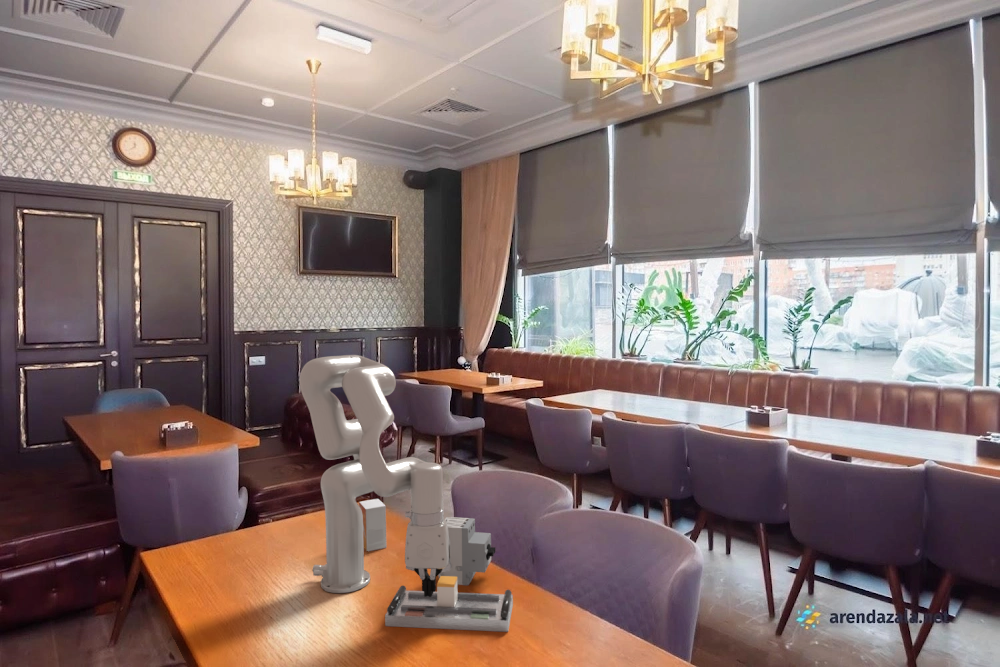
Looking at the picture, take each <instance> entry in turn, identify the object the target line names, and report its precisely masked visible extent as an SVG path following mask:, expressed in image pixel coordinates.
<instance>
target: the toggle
mask: <svg viewBox="0 0 1000 667" xmlns="http://www.w3.org/2000/svg"><path fill="white" fill-rule="evenodd" d="M436 592H437V606H441V607H455V605H456V603H457V600H458V593H459V592H458V585H457V577H455V576H440V579H439V578H438V581H437V582H436Z"/></svg>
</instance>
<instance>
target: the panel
mask: <svg viewBox="0 0 1000 667" xmlns="http://www.w3.org/2000/svg"><path fill="white" fill-rule="evenodd" d="M513 598H514V594H512V591H511V589H506V590H505V591H504V594H503V593H476V592H458V600H457V603H456V605H455V607H441V606H437V591H435V592H433V594H432V596H431V597H429V596H427V597H424V591H422V590H407V587H406V586H405V585H401V586H400V587H399V588H398V590H397V592H396V593H395V594H394V596H393V598H392V600H391V601H390V604H389V605H388V607H387V608H386V612H385V614H384V615H385V616H384V622H385V623H384V625H385V627H394V628H395V627H398V628H401V627H402V628H415V629H416V628H419V629H438V630H439V629H441V630H443V629H444V630H461V631H463V630H464V631H482V632H485V631H486V632H503V633H504V632H505V633H509V631H510V630H509V629H510V624H511V618H512V612H513V606H514V599H513Z"/></svg>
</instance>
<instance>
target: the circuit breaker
mask: <svg viewBox="0 0 1000 667" xmlns="http://www.w3.org/2000/svg"><path fill="white" fill-rule="evenodd" d="M444 520H445V521H446V523H447V527H448V532H449V539H450V551H451V556H450V562H451V569H450V570H449V571H445V572H441V573H440V574H439V575H438V580H439V579H440V576H455V577H457V586H469V585H470V583H471V582H472V580H473V578H474V576H475V574H476V573H484V574H485V573H486V571H487V569H488V568H489V565H490V564H491V561H492V557H494V555H495V553H496V547H493V546H492V534H491V533H490V532H481V531H480V532H479V531H478V532H477V531H476V518H471V517H456V516H455V517H454V516H451V517H448V516H446V517H445V518H444Z"/></svg>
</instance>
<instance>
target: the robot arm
mask: <svg viewBox="0 0 1000 667" xmlns="http://www.w3.org/2000/svg"><path fill="white" fill-rule="evenodd" d="M299 375H300V376H299V389H300V391H301V394H302V395H301V396H302V397H303V399H304V402H305V404H306V406H307V408H308V411H309V413H310V414H309V415H310V419H311V423H312V427H313V432H314V436H315V440H316V444H317V445H316V446H317V448H318V451H319V453H320V456H321V457H322V458H323V459H325V460H329V461H331V460H337V459H342V458H346V457H350V456H352V457H353V460H349V461H345V462H341V463H337V464H335V465H332V466H331V467H329V468H328V469H326V470H325V471H324V472H323V474H322V476H321V479H320V489H321V490H320V491H321V494H322V498H323V505H324V515H325V516H324V517H325V544H326V545H325V546H326V549H325V550H326V552H325V553H326V563H325V564H324V565H321V564H313V566H312V573H313V574H312V575H313V576H314V577H319V576H320V577H321V579H320V587H321V588H322V589H323V590H324V591H326V592H327V593H332V594H345V593H351V592H355V591H358V590H361V589H363V588H365V587H366V586H367V585H369V583H370V581H371V574H370V572H368V571H367V570H365V560H364V559H365V557H364V556H365V555H364V551H365V548H364V546H363V514H362V510H361V508H360V507H359V503H357V500H356V498H358V497H360V496H363V495H366V494H369V493H373V492H374V493H375V494H376V495H377V496H379V497H382V498H388V497H392V496H394V495H399V494H401V493H403V492H406V491H409V490H410V510H407V511H405V515H404V516H405V518H409V520H410V522H408V524H407V528H406V535H405V543H404V544H405V546H404V547H405V548H404V563H405V569H406V570H408V571H411V572H415V573H416V574H417V575H418V576H419V578H420V579H419V580H421V591H424V597H427V596H429V597H431V596H432V594H433V592H437V580H436V579H437V577H439V574H440V573H441V572H445V571H449V570H450V569H451V562H450V556H451V551H450V539H449V532H448V527H447V523H446V521H445V517H444V515H445V514H444V472H443V468H442V467H443V466H441V465H440V464H439V463H437V462H432V461H431V462H426V461H424V460H422V459H420V458H418V457H414V456H408V457H403V458H400V459H397V460H393V461H390V462H389V461H388V462H387V463H386V461H385V459H384V457H383V455H382V452H381V449H380V437H381V434H382V433H383V432H384V431H385V430H387V428H389V426H391V425H392V424H393V423H394V421H395V415H394V412H393V410H392V408H391V406H390V404H389V402H388V401H387V398H386V396H389V395H391V394H392V393H393V392H394V391H395V388H396V387H397V386H396V385H397V383H396V382H397V381H396V376H395V374H394V372H393V371H392V370H391V369H390V367H388V366H387V365H385V364H383V363H381V362H378V361H377V360H376V361H375V360H373V359H370V358H368V357H366V356H363V355H358V354H345V355H343V354H342V355H331V356H330V355H329V356H322V357H317V358H313V359H311V360H309V361H307V362H306V363H305V364H304V365H303V367H302V369H301V372H300V374H299ZM335 388H336V389H337V388H342V390H343V392H344V394H345V397H346V398H347V401H348V403H349V405H350V407H351V409H352V411H353V414H354V415H355V417H356V418H353V419H348V420H347V418H346V415H345V412H344V408H343V405H342V403H341V400H339V398H338V396H336V394H334V393H333V392H332V391H331V389H335ZM428 569H429V570H430V573H428V572H429V571H428Z"/></svg>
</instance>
